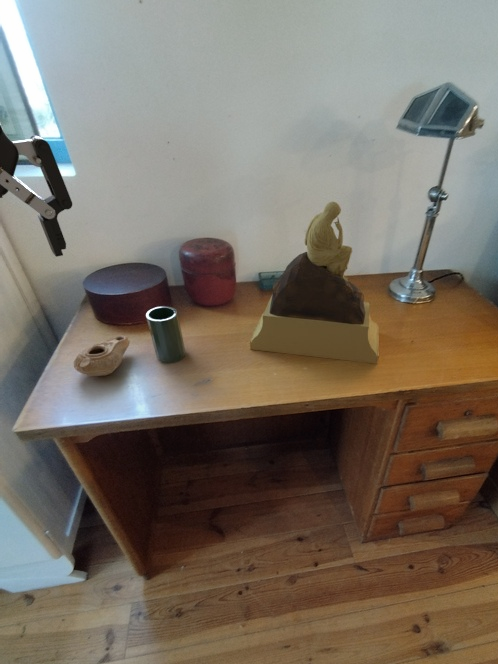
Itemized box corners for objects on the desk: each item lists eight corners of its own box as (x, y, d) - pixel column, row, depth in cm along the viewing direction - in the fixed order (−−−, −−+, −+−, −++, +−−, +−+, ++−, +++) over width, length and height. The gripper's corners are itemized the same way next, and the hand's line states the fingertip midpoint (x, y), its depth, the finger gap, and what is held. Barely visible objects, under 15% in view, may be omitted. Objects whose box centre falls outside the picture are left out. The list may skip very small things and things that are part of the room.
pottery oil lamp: (146, 351, 82) (140, 335, 76) (109, 395, 77) (99, 381, 71) (111, 331, 82) (102, 312, 76) (72, 373, 78) (58, 357, 71)
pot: (158, 365, 79) (147, 323, 73) (155, 350, 83) (144, 309, 77) (187, 359, 81) (179, 318, 75) (182, 344, 85) (174, 304, 79)
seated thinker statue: (377, 332, 92) (403, 195, 72) (377, 363, 82) (407, 215, 62) (263, 320, 94) (258, 184, 74) (250, 349, 85) (240, 202, 65)
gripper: (11, 52, 34) (76, 239, 45) (-219, 42, 27) (-77, 265, 38) (29, 53, 30) (95, 260, 40) (-240, 42, 23) (-73, 294, 34)
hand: (12, 262), depth 39 cm, fingers open, 8 cm apart
